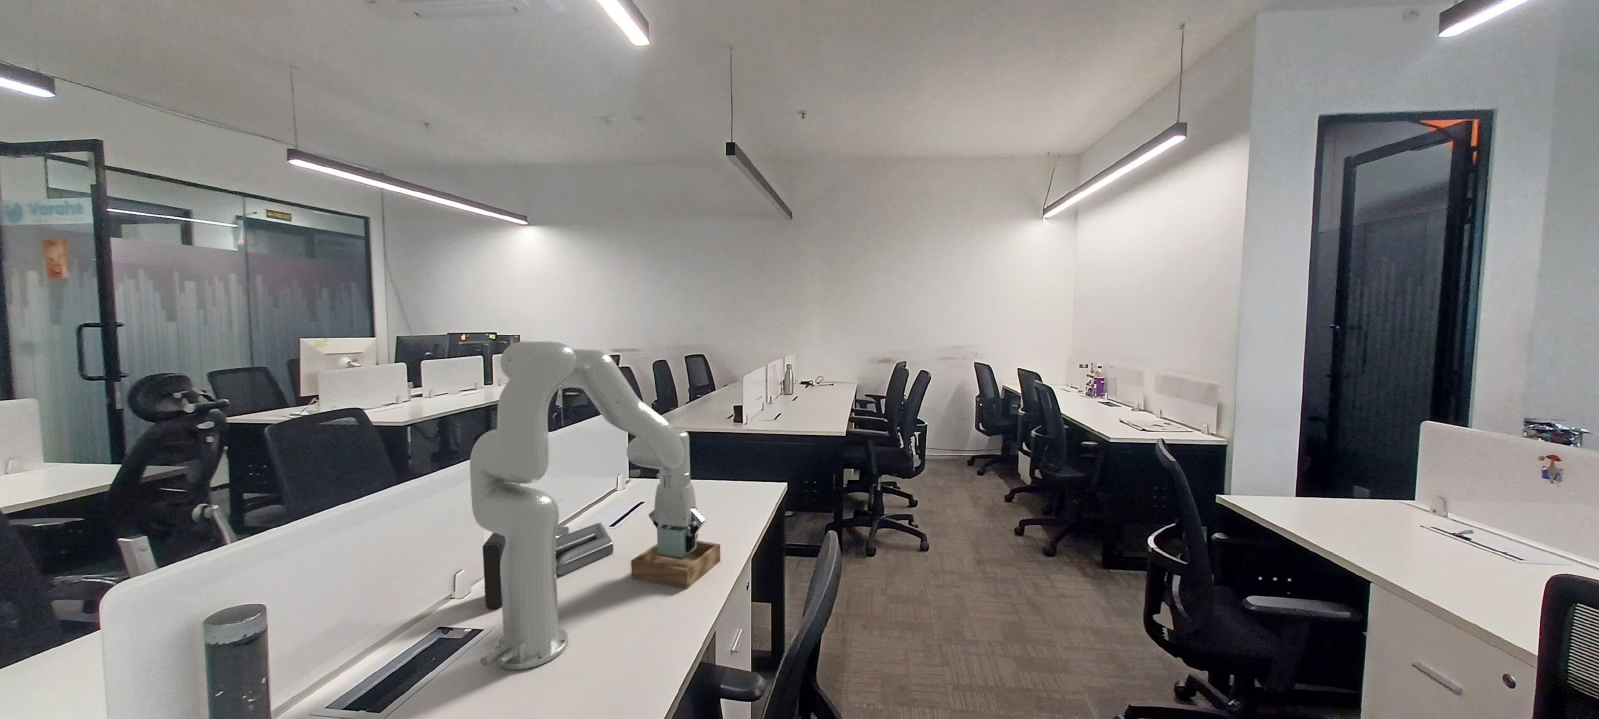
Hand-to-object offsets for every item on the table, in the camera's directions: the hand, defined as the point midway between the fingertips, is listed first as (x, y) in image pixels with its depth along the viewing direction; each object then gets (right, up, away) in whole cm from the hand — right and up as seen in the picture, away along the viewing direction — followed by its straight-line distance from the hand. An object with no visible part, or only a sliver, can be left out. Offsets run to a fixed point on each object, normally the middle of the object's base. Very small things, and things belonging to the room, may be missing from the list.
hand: (677, 546), depth 139 cm
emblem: (-34, -6, +10) cm, 36 cm away
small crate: (0, -1, 0) cm, 1 cm away
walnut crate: (0, -6, 0) cm, 6 cm away
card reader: (-38, -7, -14) cm, 41 cm away
